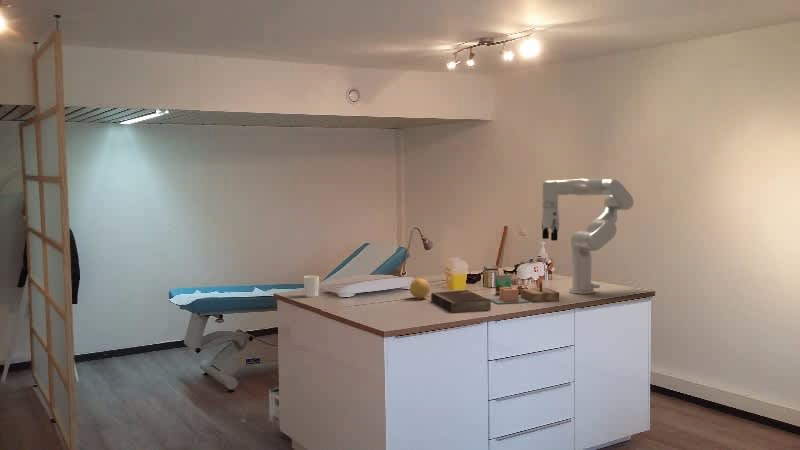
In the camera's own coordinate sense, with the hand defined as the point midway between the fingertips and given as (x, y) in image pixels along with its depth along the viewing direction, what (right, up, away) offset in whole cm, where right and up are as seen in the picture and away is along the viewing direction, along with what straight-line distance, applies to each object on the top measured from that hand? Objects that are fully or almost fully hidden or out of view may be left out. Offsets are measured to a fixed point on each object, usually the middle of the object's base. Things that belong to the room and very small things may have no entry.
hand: (549, 239), depth 363 cm
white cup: (-120, -29, +5) cm, 124 cm away
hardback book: (-47, -31, -23) cm, 61 cm away
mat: (-23, -30, -13) cm, 39 cm away
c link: (-22, -29, -13) cm, 39 cm away
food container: (-21, -28, +8) cm, 36 cm away
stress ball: (-65, -29, -4) cm, 72 cm away
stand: (-7, -29, -8) cm, 31 cm away
